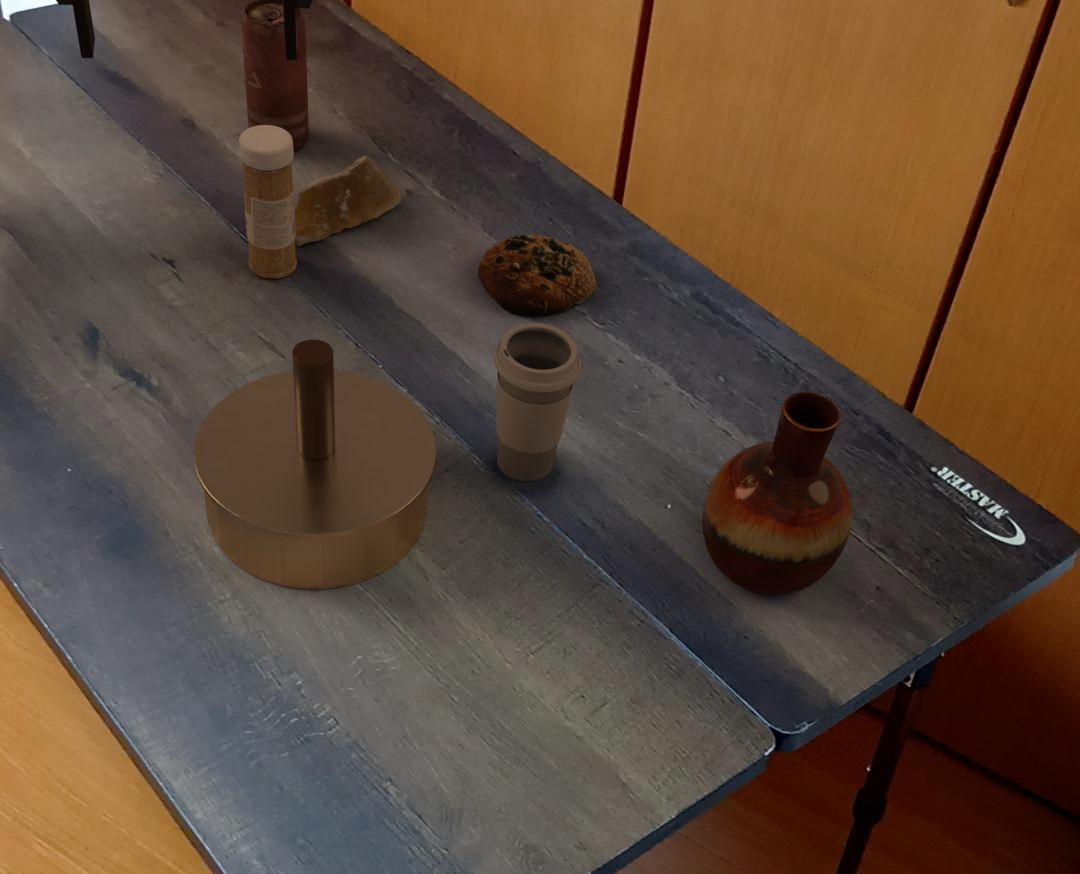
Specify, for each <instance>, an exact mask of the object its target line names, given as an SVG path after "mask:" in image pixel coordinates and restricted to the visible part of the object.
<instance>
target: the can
mask: <svg viewBox="0 0 1080 874" xmlns="http://www.w3.org/2000/svg"><path fill="white" fill-rule="evenodd" d="M295 18H296V44H297V60H286V52H285V40H284V19H283V0H254V1H252V2H250V3H248V4H247V5H246V6H245V7H244V10H243V13H242V15H241V19H240V25H241V41H242V52H243V69H244V70H243V71H244V83H245V84H244V85H245V99H246V113H247V129H248V128H251V127H254V126H259V125H272V126H277V127H280V128H282V129H284V130H286V131H287V132H288V133H289V134H290V135H291V137H292V140H293V151H294V153H298V152H299V151H301V150H302V149H303V148H304V147H305V146H306V144H307V143H308V142H309V139H310V124H309V123H310V121H309V120H310V119H309V91H308V88H309V87H308V64H307V63H308V59H307V58H308V57H307V30H306V29H307V27H306V19H305V17H304V15H303V13H302V10H301V8H295Z"/></svg>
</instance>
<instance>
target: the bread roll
mask: <svg viewBox="0 0 1080 874" xmlns="http://www.w3.org/2000/svg"><path fill="white" fill-rule="evenodd" d="M477 276H478V277H477V278H478V280H480V283H481V284H482V286H483V288H484V290H485V291H486V293H487V294H488V295H489V296H490V297H491V299H492V300H494V301H495V302H496V303H497V304H498V305H499V306H500V307H501V308H502V309H503V310H505V311H506V312H508V313H512V314H517V315H528V316H541V315H542V314H544V315H553V314H557V313H562V312H565V311H569V310H570V309H572V307H573V306H574V305H581V304H583V303H585V302H586V301H588V300H589V299H590V298H591V296H592V294H593V291H594V290H595V289H596V288H597V281H596V277H595V274H594V270H593V267H592V265H591V263H590V262H589V260H588V258H587V257H586V255H585V254H584V253H583V252H582V251H581V250H579V249H577V248H576V247H575V246H574V245H573V244H572V243H570V242H567V241H566V242H565V243H564V242H560V241H559V240H557V239H556V238H553V237H547V236H544V235H536V234H525V233H524V234H521V235H520V236H518V235H517V234H515V235H514V237H513V236H511V237H507V238H506V239H505V240H502V241H499V242H497V243H495V244H494V245H492V246H491V247H490V248H488V249H486V250H485V252H484V255H483V256H482V258H481V260H480V261H479V263H478V268H477Z"/></svg>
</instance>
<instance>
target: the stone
mask: <svg viewBox="0 0 1080 874" xmlns="http://www.w3.org/2000/svg"><path fill="white" fill-rule="evenodd" d="M401 202H402V194H401V192H400V189H399V188H398V187H397V185H396V184H395V182H394V181H392V179H391V178H390V176H388V174H387V173H386V172H385V171H384V170H383V169H382V168H381V167H380V166H379V165H378V164H377V162H375V161H374V160H373V159H372V158H370V157H369V156H368V155H363V156H362V157H358V158H357V159H356V160H354V161H353V162H351V163H350V164H348V166H347V167H345V168H343V169H342V170H340V171H338V172H335V173H332V174H329V175H323V176H320V177H317V178H315V179H313V180H311V181H310V182H309V183H308V184H306V185H305V186H303V187H302V188H301V189H300V190H299V192H298V199H297V204H296V207H295V208H294V209H295V233H296V237H295V246H298V247H300V246H302V245H306V244H308V243H312V242H319V241H322V240H325V239H327V238H328V237H330V236H331V235H333V234H336V233H337V234H338V233H340V232H342V230H344V229H352V228H354V227H357V226H359V225H362V224H363V223H367V222H368V221H371V220H373V219H377V218H379V217H380V216H381V215H384V214H385V213H386V212H388V211H390V210H393V209H394V208H395V207H397V206H398V205H399V204H400V203H401Z"/></svg>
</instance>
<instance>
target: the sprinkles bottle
mask: <svg viewBox="0 0 1080 874" xmlns="http://www.w3.org/2000/svg"><path fill="white" fill-rule="evenodd" d="M238 147H239V157H240V160H241V163H242V172H243V174H242V175H243V190H244V215H245V229H246V231H245V232H246V237H247V246H248V247H247V248H248V259H247V260H248V261H247V263H248V267H249V269H250V271H251V272H252V273H253V274H254V275H256V276H259V277H261V278H264V279H273V280H274V279H277V280H278V279H283V278H285V277H288V276H290V275H291V274H293V273H294V272H295V271H296V269H297V266H298V259H297V256H296V244H295V237H296V233H295V209H296V208H295V189H294V188H295V187H294V182H293V181H294V180H293V178H294V177H293V160H294V156H295V154H294V151H293V140H292V137H291V135H290V134H289V133H288V132H287V131H286V130H284V129H282V128H280V127H277V126H272V125H259V126H254V127H251V128H248V127H247V129H245V130H244V131H243V132H241V134H240V136H239V138H238Z"/></svg>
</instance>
